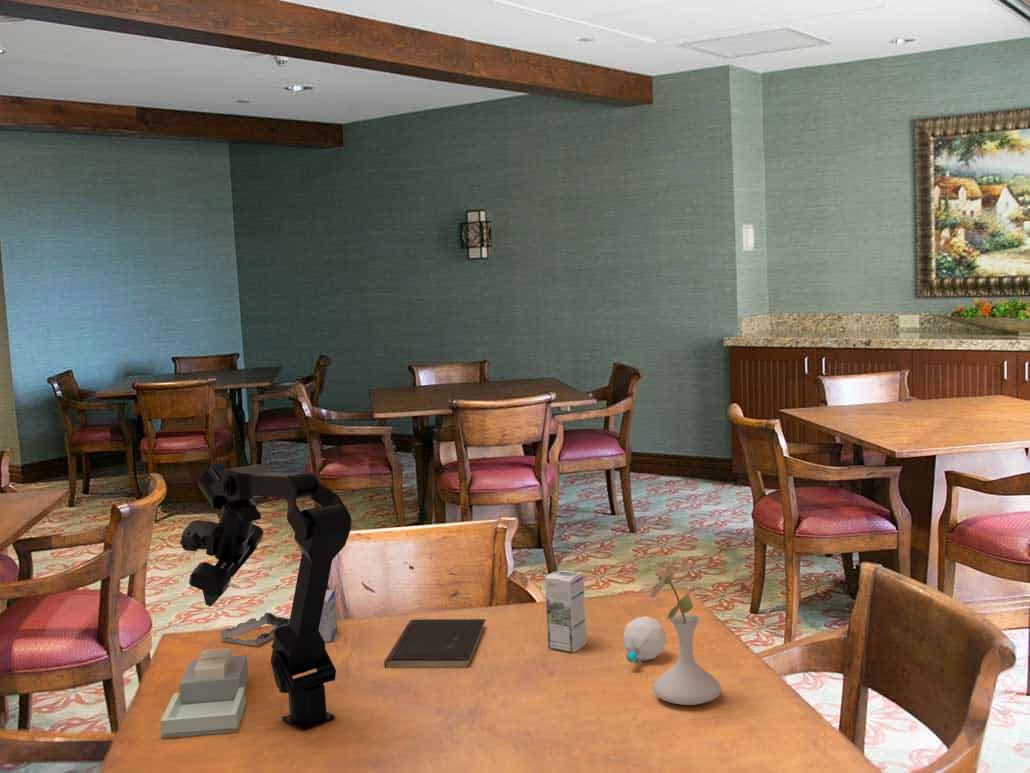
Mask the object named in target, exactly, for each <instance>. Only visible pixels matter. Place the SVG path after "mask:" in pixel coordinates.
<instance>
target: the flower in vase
mask: <svg viewBox="0 0 1030 773" xmlns="http://www.w3.org/2000/svg"><path fill="white" fill-rule="evenodd" d="M676 562H677V559H676V558H675V557H673V556H672V557H671V558H670V559H669V560H667V561H666V564H665V566H664V570H663V572H664V573H663V572H660V573H659V574H658V576H657V580H658V581H657V582H656V583H654V585H653V586H652V587H651V588H650V591H651V592H650V593H649V595H648V596H649V597H650V598H653V599H654V598H655V597H657V595H658V594H659V593H660V592H661V590H662V588H663V587H664V586H665V585H666V584H669V585H670V587H671V589H672V591H673V594H674V595H675V597H676V600H677V604H676V605H675V606H674V607H673V608H672V609H671V610H670V611H669V613H668V615H667V618H666V620H670V622H671V623H672V625H673V626H674V628H675V631H676V633H677V638H678V649H679V650H678V651H679V652H678V654H679V655H678V660H677V662H676V663H675V664H674V665H673V666H671V667H670V668H668V669H667V670H666V671H664V672H663V673H662V674H661V675H660V676H659V677H658V678H657V679H656V680H655V681H654V684H653V687H652V688H653V692H654V693H655V695H656V696H657V697H658V698H659V699H661V700H663V701H666V702H668V703H671V704H675V705H681V706H683V705H684V706H692V705H693V706H694V705H695V706H696V705H701V704H705V703H709V702H711V701H714V700H715V699H717V698H718V696H720V694H721V692H722V686H721V684H720V682H719V680H718V679H717V678H715V676H714V675H712V674H711V673H710V672H709V671H707V670H705V669H704V668H703V667H701V665H699V664H698V663H697V662H696V660H695V657H694V652H693V651H694V650H693V649H694V647H693V642H694V634H695V630H696V627H697V626H698V624H699V623H700V622H701V618H700V617H699V616H697V615H694V614H688V612H689V611H692V609H693V608H694V606H693V602H692V599H691V597H690V594H689V593H688V592H687V593H686V594H685V595H684V596H682V597H681V598H680V597H679V595H678V593H677V591H676V588H675V587H674V584H673V583H672V581H671V578H670V576H671V574H672V572H673V570H674V568H675V566H676ZM678 611H680V613H681V614H677V612H678ZM686 613H687V614H686Z"/></svg>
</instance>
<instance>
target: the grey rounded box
mask: <svg viewBox="0 0 1030 773" xmlns="http://www.w3.org/2000/svg"><path fill="white" fill-rule="evenodd" d="M198 661H199V658H195V659H193V658H192V659H190V662H189V664H188V666H187V667H186V670H185V672H184V674H183V676H182V678H181V680H180V682H179V693H180V700H181V705H185V704H197V703H209V702H220V701H232V700H235V698H236V695H237V692H238V689H239V688H241V687H245V689H246V688H247V685H248V682H249V666H248V655H247V654H245V655H242V654H241V655H232V660H231V663H230V665H229V668H228V671H227V673H226V676H225V678H224V679H218V680H206V681H195V676H194V669H195V667H196V665H197V663H198Z"/></svg>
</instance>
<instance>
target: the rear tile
mask: <svg viewBox="0 0 1030 773" xmlns="http://www.w3.org/2000/svg"><path fill="white" fill-rule="evenodd" d="M232 656H233V649H232V647H224V648H223V647H222V648H211V649H203V650H202V652H201V654H200V657H199V658H198V659H199V660H208V659H221V658H227V659H228V668H229V665H230V663H231V660H232Z"/></svg>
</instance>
